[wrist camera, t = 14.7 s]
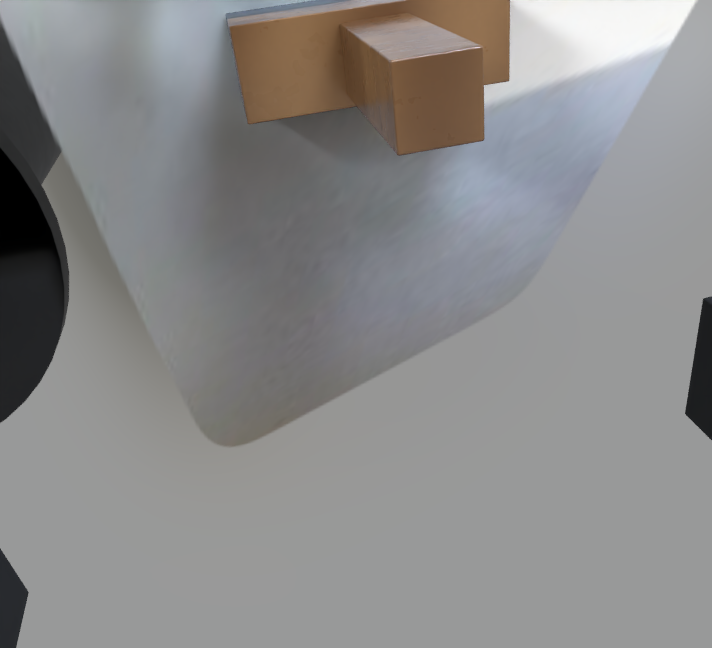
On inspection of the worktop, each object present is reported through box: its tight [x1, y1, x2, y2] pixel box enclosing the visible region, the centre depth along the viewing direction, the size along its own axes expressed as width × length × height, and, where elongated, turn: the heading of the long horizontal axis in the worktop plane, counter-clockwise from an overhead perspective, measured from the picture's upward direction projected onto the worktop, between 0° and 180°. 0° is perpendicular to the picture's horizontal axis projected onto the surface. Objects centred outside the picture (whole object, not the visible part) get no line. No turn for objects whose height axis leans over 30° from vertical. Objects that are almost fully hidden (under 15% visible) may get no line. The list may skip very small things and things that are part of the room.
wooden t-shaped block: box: [226, 0, 510, 156], centre depth 27 cm, size 12×4×14 cm, turn 97°
